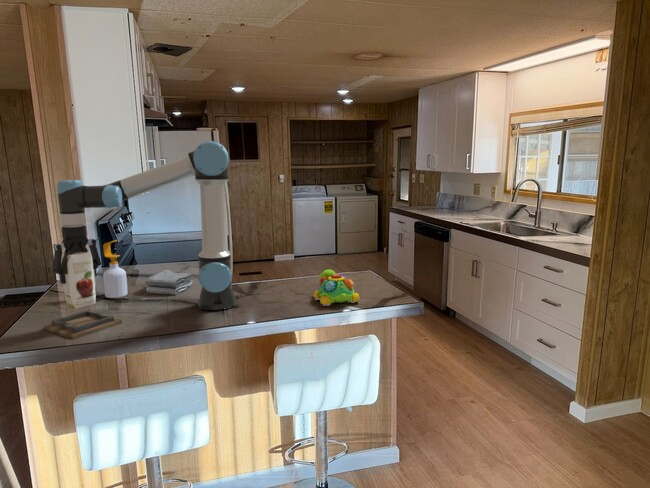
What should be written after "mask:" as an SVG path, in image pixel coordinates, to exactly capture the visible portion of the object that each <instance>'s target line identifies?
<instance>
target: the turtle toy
mask: <svg viewBox="0 0 650 488" xmlns="http://www.w3.org/2000/svg"><path fill="white" fill-rule="evenodd" d="M318 282H319V283H320V284H319V288H318V290H315V291H314V292H313V298H314V297H315V298H321V299H319V300H320V301H319V302H320V304H321V303H322V304H330V303H333V304H334V303H337V302H339V303H345V301H346V302H347V301H357V300H359V301H360V294H359V293H357V292H355V290H354V286H355V283H354V281H353V280H352V279H349V278H347V276H346V275H344V274H339V273H336V272H335V271H334V270H332V269H325V270H324V271H322V273H320V274H319V276H318Z"/></svg>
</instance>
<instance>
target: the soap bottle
mask: <svg viewBox="0 0 650 488" xmlns="http://www.w3.org/2000/svg"><path fill="white" fill-rule="evenodd" d="M114 242H115V243H116V242H118V239H115V240H111V241H109V242H105V243H104V244H103V245H102V247H103V256H104V258H109V260H111V261H110V262H109V268H107V269H105V270H104V272H103V274H102V278H103V279H102V280H103V288H104V297H105V298H109V299H118V298H123V297H126V296H127V295H128V280H127V272H126V270H125V269H123V268H121V267H119V261H116V260H117V258H118V257H120V256H121V255H120V254H113V253H112V250H111V245H112V243H114Z"/></svg>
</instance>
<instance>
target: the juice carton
mask: <svg viewBox="0 0 650 488" xmlns="http://www.w3.org/2000/svg"><path fill="white" fill-rule="evenodd" d="M63 257H64V252H62V259H61V263H62V260H63ZM67 257H68V258H67V259H68V260H67V271H66V274H68V278H69V288H70V293H65V292H64V299H65V302H66V305H67V307H69V308H74V309H76V310H77V309H82V308H84V307H88V306H93V305H95V304H96V301H97V300H96V295H97V294H96V286H95V284H96V282H95V283H94V272H93V261H92V259H93V258H92V255H91V251H88V252H76V253H73V254H72V255H68V256H67Z"/></svg>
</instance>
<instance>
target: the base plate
mask: <svg viewBox="0 0 650 488" xmlns="http://www.w3.org/2000/svg"><path fill="white" fill-rule="evenodd" d="M122 323H123V320H122V319H121V318H118V317H115V316H113V315H109V314H106V313H103V312H100V311H96V310H92V309H87V310H84V311H80V312H76V313H73V314H70V315H66V316H64V317H59V318H56V319H53V320H51V322H50V323H48V324H44V325H43V329H44V330H45V331H49V332H51V333H56V334H58V335H60V336H63V337H66V338H69V339H71V340H75V339H78V338H81V337H83V336H87V335H90V334H92V333H95V332H98V331H99V332H100V331H102V330H105V329H108V328H111V327H114V326H117V325H120V324H122Z"/></svg>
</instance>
